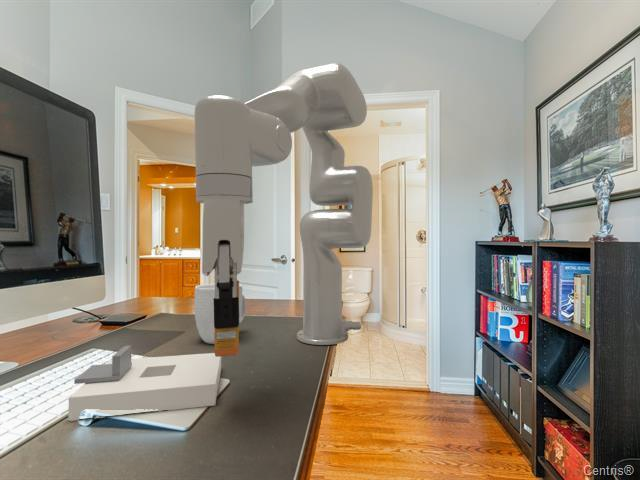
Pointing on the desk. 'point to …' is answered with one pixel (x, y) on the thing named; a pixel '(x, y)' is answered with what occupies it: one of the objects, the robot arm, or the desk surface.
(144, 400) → the socket block
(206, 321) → the mug
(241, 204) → the robot arm
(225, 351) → the supplement box
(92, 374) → the grey l-shaped bracket
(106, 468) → the desk surface
